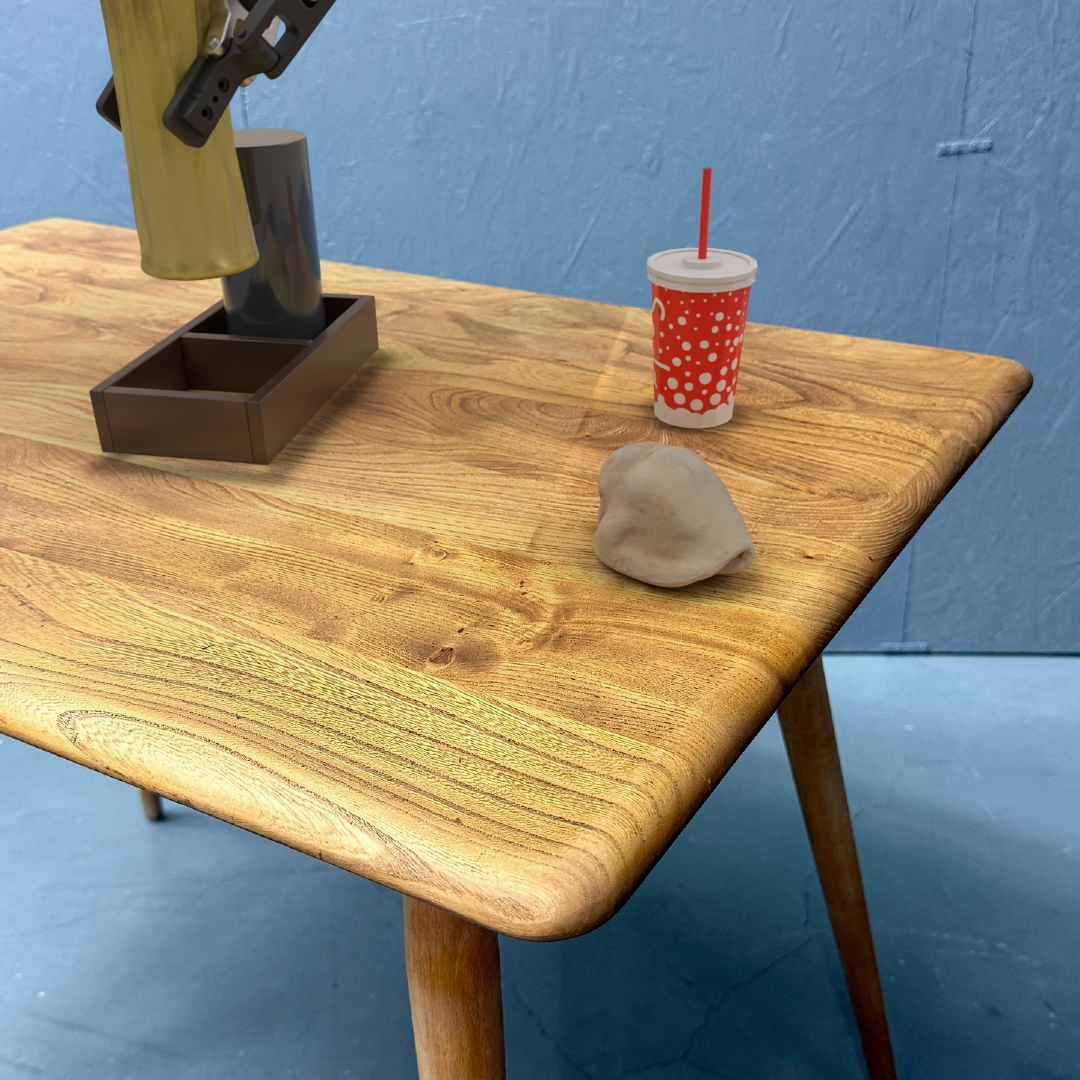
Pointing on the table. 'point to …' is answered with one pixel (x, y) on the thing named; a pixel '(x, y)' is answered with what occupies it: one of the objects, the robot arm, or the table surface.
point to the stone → (667, 517)
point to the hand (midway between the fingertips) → (146, 128)
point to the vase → (175, 147)
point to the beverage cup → (698, 327)
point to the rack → (231, 386)
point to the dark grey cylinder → (277, 241)
